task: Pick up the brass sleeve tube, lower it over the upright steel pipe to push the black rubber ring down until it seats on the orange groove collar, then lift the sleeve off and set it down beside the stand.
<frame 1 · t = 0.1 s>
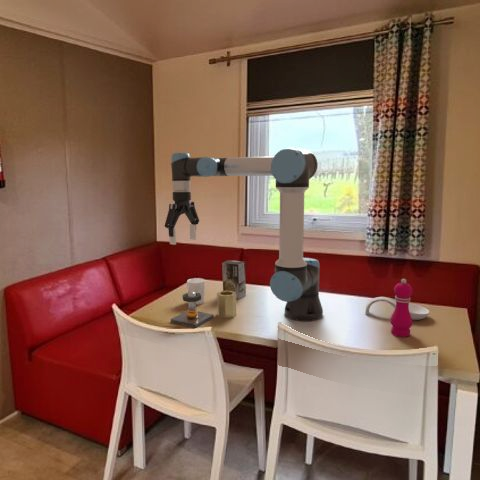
hand: (183, 241, 169), 28 cm above the table, fingers open, 13 cm apart
ring: (191, 297, 155), point 9 cm above the table, slide at 0.0 cm
pepper mill: (400, 334, 142), on the table
pipe stand: (192, 319, 157), on the table
coffee box: (234, 296, 187), on the table
sleeve: (226, 314, 162), on the table
white curved piece: (396, 316, 159), on the table
white cup: (196, 302, 178), on the table
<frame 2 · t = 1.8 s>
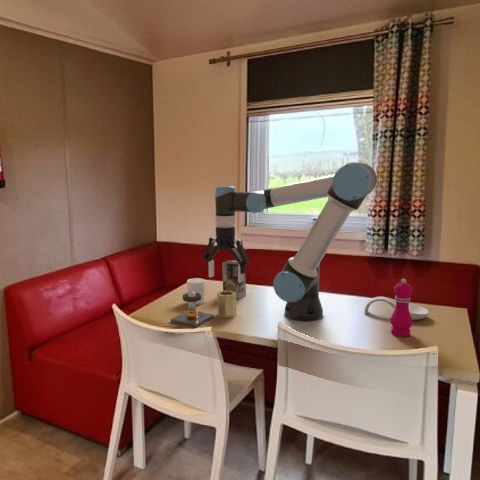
hand: (225, 279, 159), 15 cm above the table, fingers open, 13 cm apart
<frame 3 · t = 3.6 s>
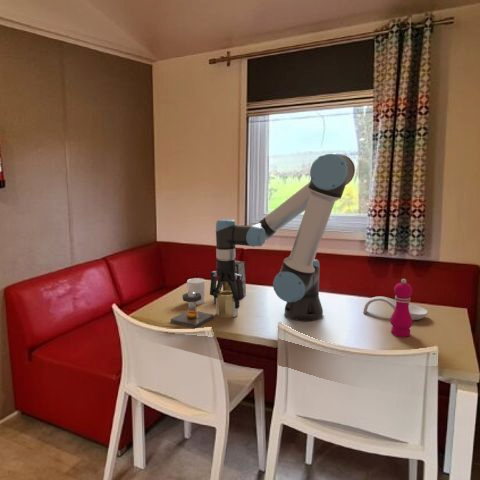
hand: (226, 314, 162), 0 cm above the table, fingers closed on sleeve, 7 cm apart
sleeve: (226, 314, 162), on the table, touching gripper
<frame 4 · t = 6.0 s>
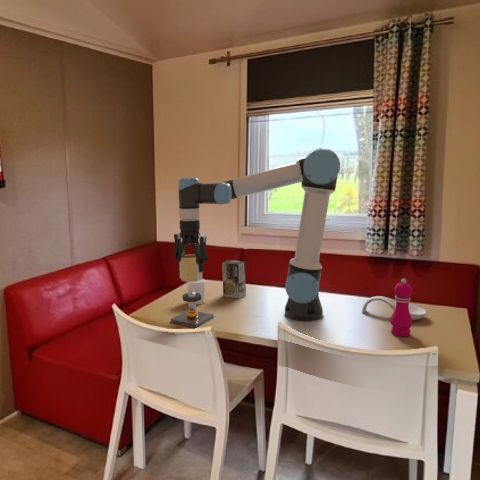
hand: (191, 278, 154), 17 cm above the table, fingers closed on sleeve, 7 cm apart
sleeve: (191, 279, 154), point 16 cm above the table, touching gripper
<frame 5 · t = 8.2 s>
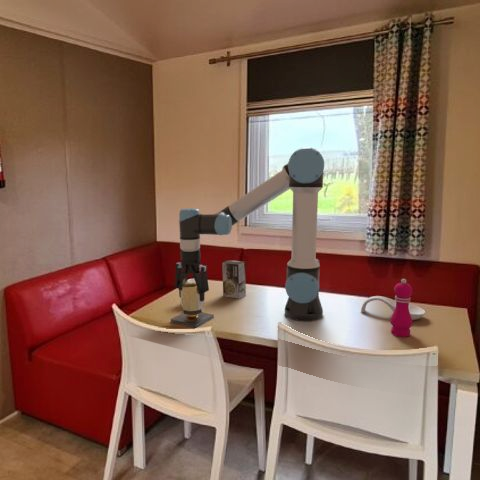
hand: (192, 307, 156), 5 cm above the table, fingers closed on sleeve, 7 cm apart
ring: (192, 309, 156), point 4 cm above the table, slide at 5.1 cm, touching sleeve
sleeve: (192, 307, 156), point 5 cm above the table, touching gripper, ring
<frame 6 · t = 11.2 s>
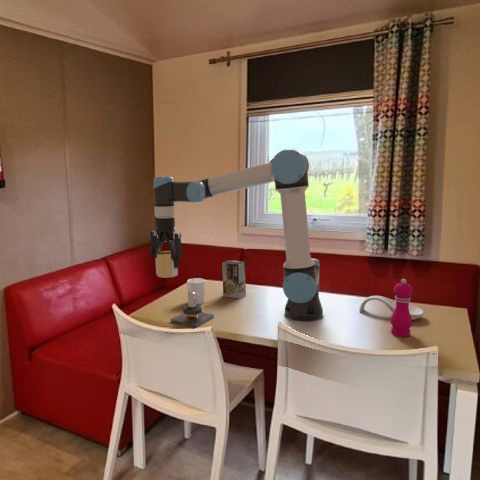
hand: (167, 274, 159), 17 cm above the table, fingers closed on sleeve, 7 cm apart
ring: (192, 309, 156), point 4 cm above the table, slide at 5.1 cm
sleeve: (167, 275, 159), point 17 cm above the table, touching gripper
when the fingers open (2 cm above the table, at t = 13.7 s): sleeve drops 2 cm, on the table.
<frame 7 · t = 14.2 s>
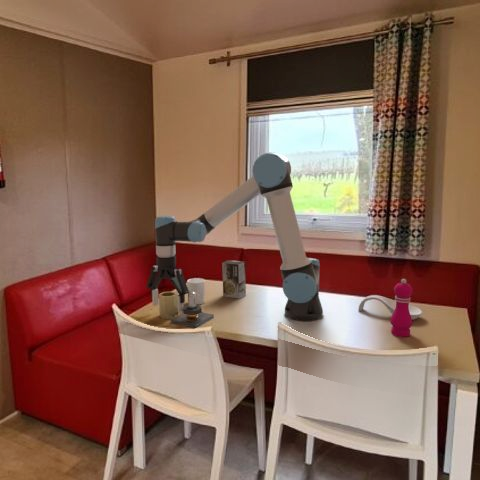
hand: (168, 307, 161), 3 cm above the table, fingers open, 12 cm apart
sleeve: (169, 315, 161), on the table
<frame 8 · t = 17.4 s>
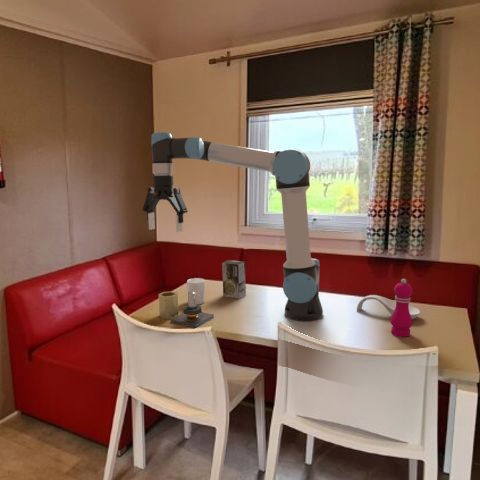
hand: (165, 230, 155), 35 cm above the table, fingers open, 13 cm apart
at the end: ring slide at 5.1 cm; the gripper is holding nothing; sleeve on the table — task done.
